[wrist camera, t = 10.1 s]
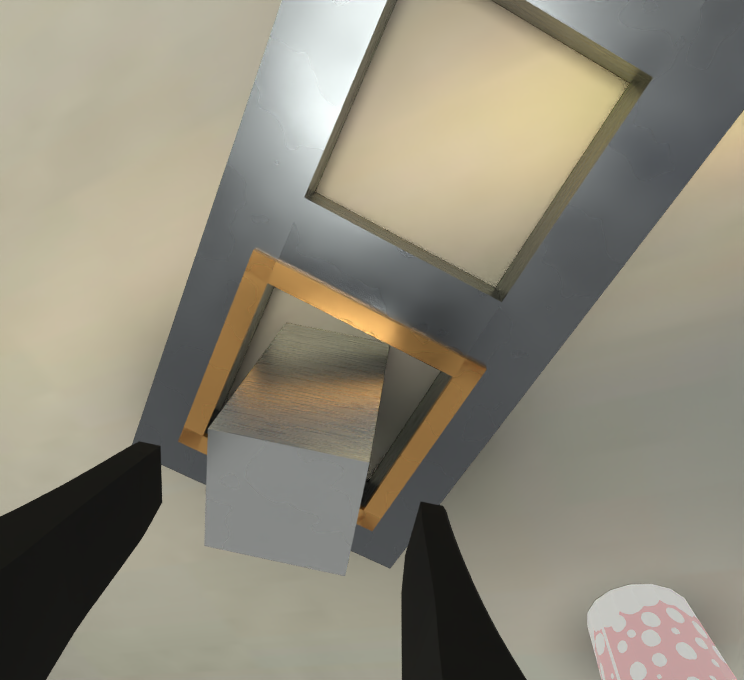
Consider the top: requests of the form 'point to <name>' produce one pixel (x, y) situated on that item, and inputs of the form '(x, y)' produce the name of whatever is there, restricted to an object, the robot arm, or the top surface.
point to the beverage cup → (651, 637)
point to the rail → (418, 267)
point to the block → (296, 450)
